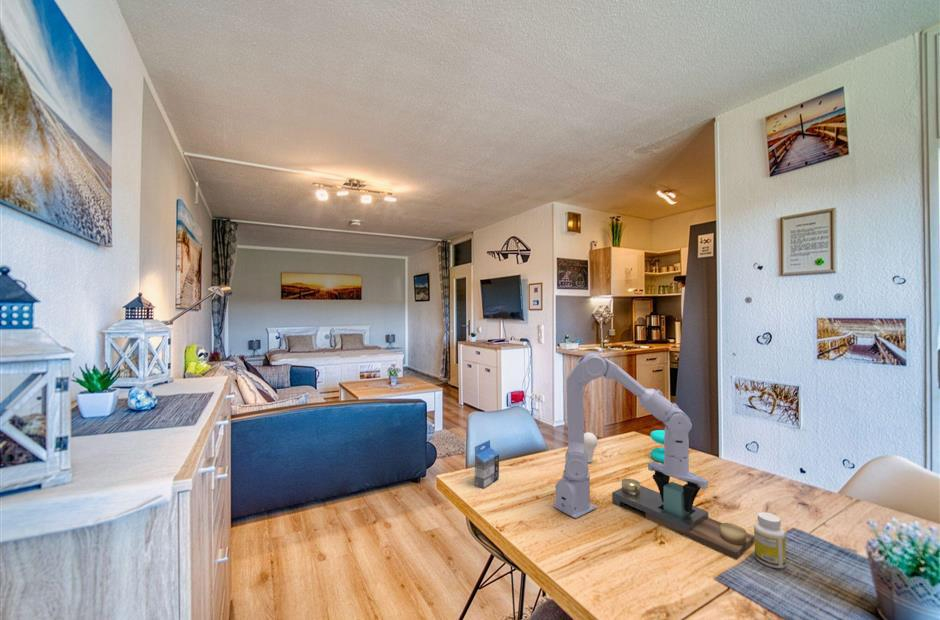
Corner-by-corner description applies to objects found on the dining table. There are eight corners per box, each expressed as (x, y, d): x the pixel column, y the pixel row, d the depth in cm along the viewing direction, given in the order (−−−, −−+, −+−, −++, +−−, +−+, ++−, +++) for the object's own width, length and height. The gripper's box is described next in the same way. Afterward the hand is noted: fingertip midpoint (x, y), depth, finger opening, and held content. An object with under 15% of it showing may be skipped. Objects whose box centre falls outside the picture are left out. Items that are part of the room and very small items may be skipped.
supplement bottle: (771, 553, 86) (771, 510, 86) (792, 569, 80) (792, 523, 80) (748, 553, 85) (748, 510, 86) (768, 569, 80) (767, 523, 80)
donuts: (659, 437, 136) (645, 429, 146) (659, 465, 136) (645, 454, 146) (686, 437, 137) (669, 428, 146) (686, 464, 136) (669, 454, 146)
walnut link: (736, 559, 83) (736, 542, 83) (645, 517, 100) (645, 503, 100) (754, 542, 90) (754, 525, 90) (666, 505, 107) (666, 492, 107)
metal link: (688, 537, 91) (688, 515, 91) (612, 502, 108) (612, 484, 108) (708, 523, 98) (708, 502, 98) (633, 492, 115) (633, 474, 115)
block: (681, 527, 96) (681, 492, 96) (663, 519, 99) (663, 486, 100) (689, 522, 98) (689, 487, 99) (672, 514, 102) (671, 481, 102)
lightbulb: (586, 466, 134) (586, 435, 134) (577, 460, 140) (577, 430, 140) (601, 464, 136) (601, 434, 136) (591, 458, 142) (591, 429, 142)
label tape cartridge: (484, 489, 117) (484, 449, 117) (474, 485, 119) (474, 447, 119) (499, 479, 124) (499, 442, 124) (489, 476, 126) (489, 439, 126)
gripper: (713, 459, 96) (713, 512, 96) (657, 443, 107) (657, 491, 107) (700, 466, 92) (701, 521, 91) (643, 448, 103) (644, 498, 103)
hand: (676, 505), depth 99 cm, fingers open, 5 cm apart
